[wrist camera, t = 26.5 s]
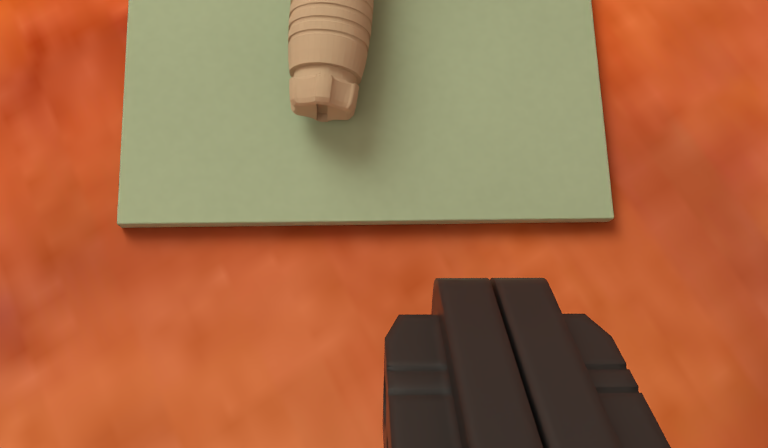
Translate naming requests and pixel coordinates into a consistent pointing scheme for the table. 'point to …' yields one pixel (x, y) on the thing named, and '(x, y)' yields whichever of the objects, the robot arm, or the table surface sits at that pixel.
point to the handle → (327, 56)
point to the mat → (364, 118)
